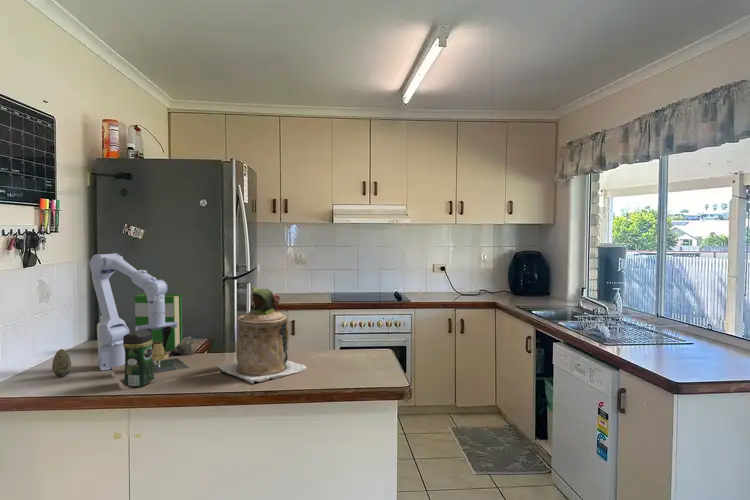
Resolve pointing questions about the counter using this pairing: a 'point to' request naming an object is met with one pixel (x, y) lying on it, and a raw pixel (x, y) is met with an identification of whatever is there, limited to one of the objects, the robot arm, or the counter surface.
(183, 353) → the fossil
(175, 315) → the hardback book
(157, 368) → the carrier
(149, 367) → the coffee jar
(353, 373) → the counter surface
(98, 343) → the pill bottle
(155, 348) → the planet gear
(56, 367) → the decorative egg
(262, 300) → the cookie jar
